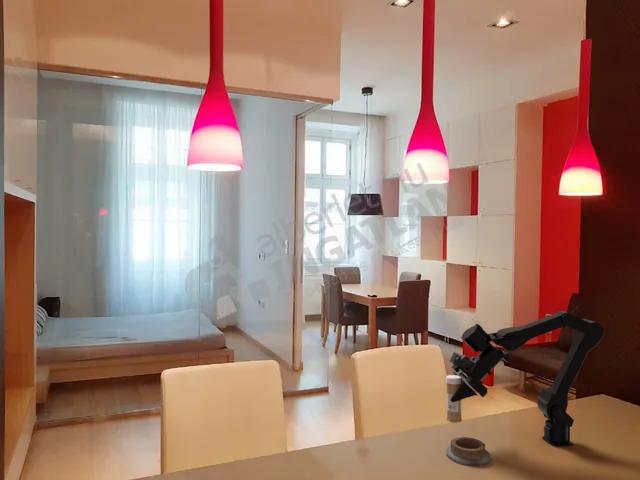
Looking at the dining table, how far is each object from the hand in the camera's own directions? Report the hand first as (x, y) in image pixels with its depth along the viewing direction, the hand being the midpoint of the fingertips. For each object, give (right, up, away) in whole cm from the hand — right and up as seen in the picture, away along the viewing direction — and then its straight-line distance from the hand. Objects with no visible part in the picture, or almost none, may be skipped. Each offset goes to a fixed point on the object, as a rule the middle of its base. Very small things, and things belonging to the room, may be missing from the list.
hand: (449, 398), depth 156 cm
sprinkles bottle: (+1, -7, 0) cm, 7 cm away
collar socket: (+3, -13, -10) cm, 17 cm away
